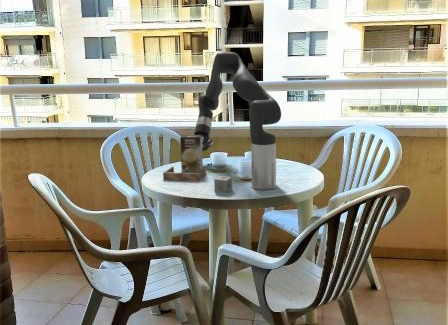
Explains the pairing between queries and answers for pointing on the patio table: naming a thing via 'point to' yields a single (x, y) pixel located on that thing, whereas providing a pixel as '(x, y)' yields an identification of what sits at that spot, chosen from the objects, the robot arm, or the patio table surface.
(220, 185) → the dice cube
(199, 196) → the patio table surface
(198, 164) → the coffee box
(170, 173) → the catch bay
